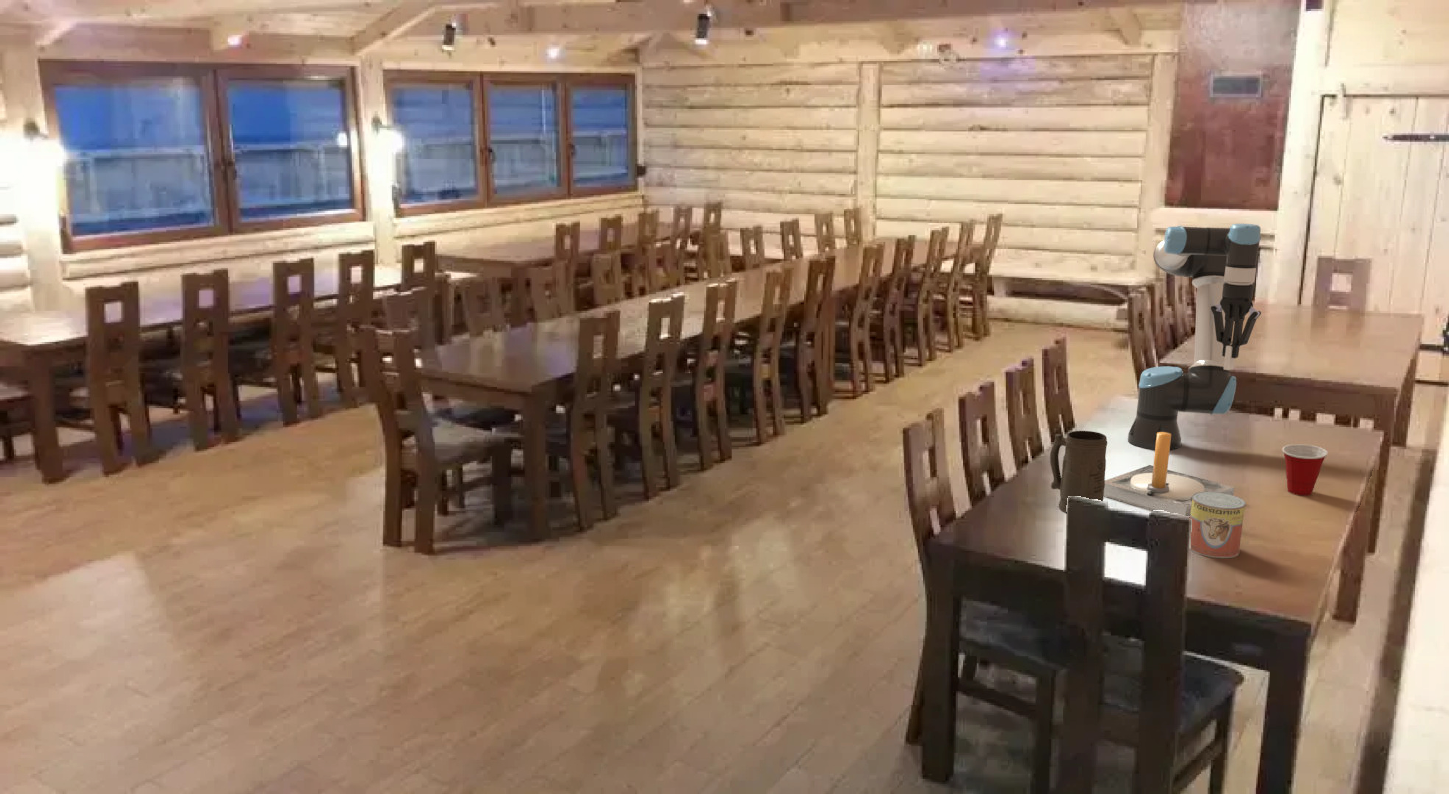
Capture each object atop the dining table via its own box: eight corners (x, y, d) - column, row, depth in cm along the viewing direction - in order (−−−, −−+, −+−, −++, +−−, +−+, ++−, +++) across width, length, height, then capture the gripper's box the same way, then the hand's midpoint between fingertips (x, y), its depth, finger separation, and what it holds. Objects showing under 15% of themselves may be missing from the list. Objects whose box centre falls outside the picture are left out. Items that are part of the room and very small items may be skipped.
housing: (1099, 494, 298) (1100, 480, 297) (1148, 477, 313) (1149, 462, 312) (1184, 519, 280) (1186, 504, 279) (1232, 499, 295) (1234, 484, 294)
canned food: (1186, 553, 259) (1192, 504, 256) (1186, 537, 269) (1191, 489, 266) (1240, 561, 255) (1247, 510, 252) (1237, 543, 265) (1244, 495, 262)
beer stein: (1112, 509, 287) (1115, 432, 283) (1093, 520, 280) (1095, 441, 276) (1056, 499, 298) (1058, 425, 294) (1036, 509, 290) (1037, 433, 286)
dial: (1144, 473, 309) (1150, 415, 305) (1212, 487, 298) (1220, 427, 294) (1119, 490, 295) (1125, 429, 291) (1190, 505, 284) (1197, 442, 280)
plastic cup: (1267, 488, 305) (1272, 445, 302) (1296, 483, 309) (1302, 441, 306) (1301, 501, 295) (1307, 457, 292) (1331, 496, 299) (1337, 452, 296)
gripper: (1269, 284, 299) (1258, 371, 305) (1222, 278, 309) (1212, 363, 315) (1256, 286, 295) (1245, 375, 300) (1208, 281, 304) (1198, 366, 310)
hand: (1228, 369), depth 308 cm, fingers closed
